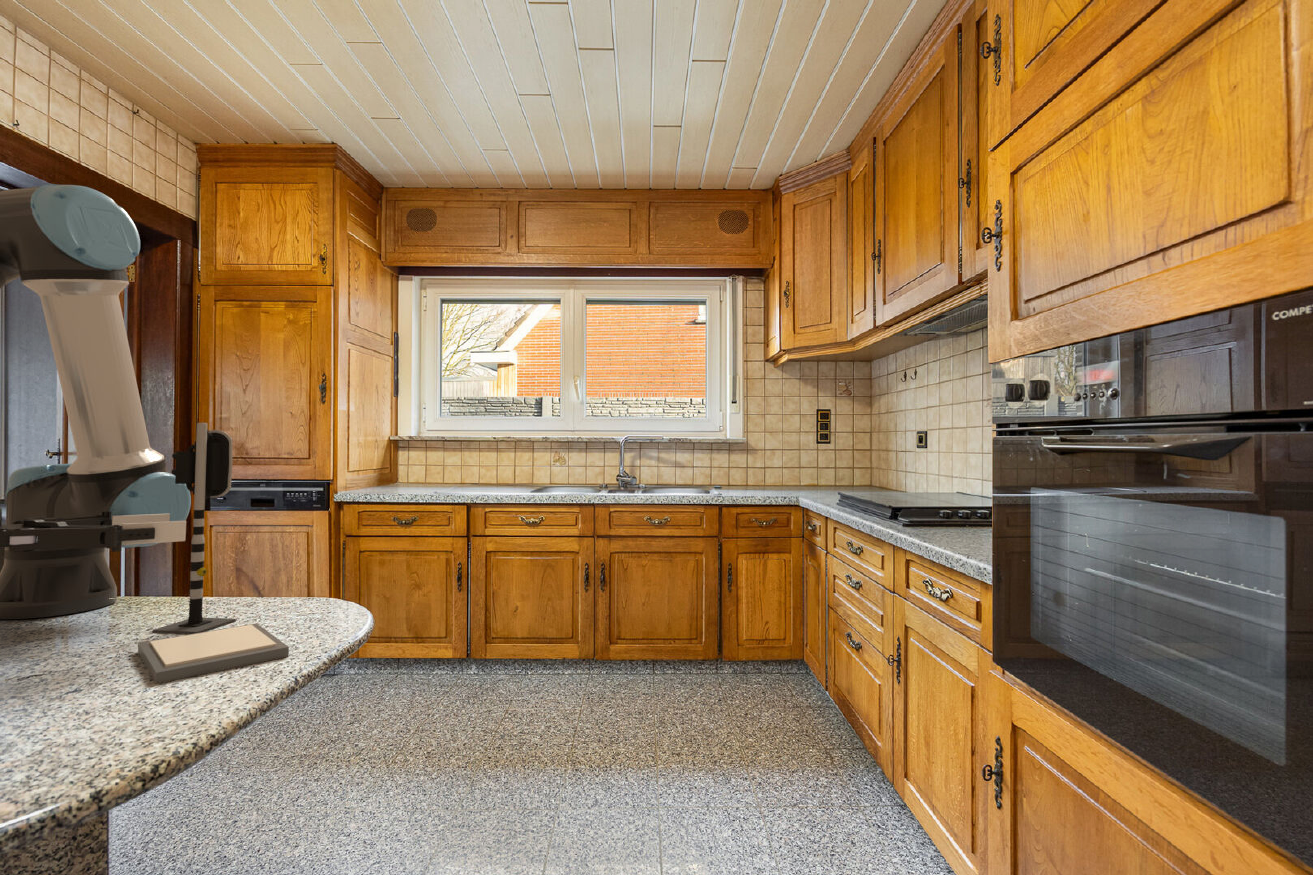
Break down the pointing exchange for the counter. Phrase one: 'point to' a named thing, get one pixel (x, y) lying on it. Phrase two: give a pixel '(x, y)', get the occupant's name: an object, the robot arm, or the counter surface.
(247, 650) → the plate
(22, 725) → the counter surface
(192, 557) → the miniature traffic light
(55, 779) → the counter surface
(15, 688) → the counter surface
